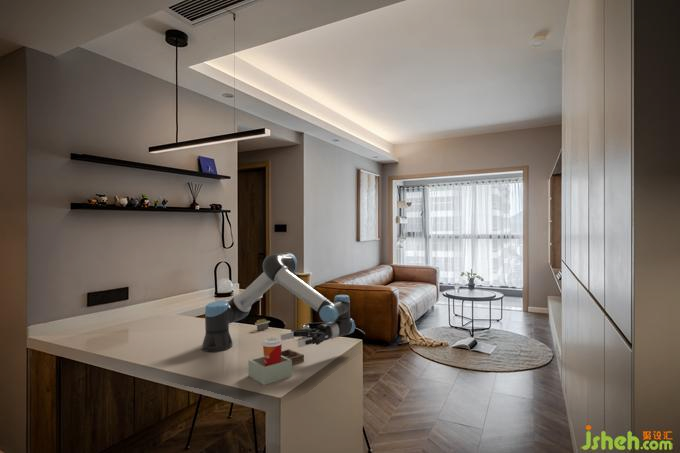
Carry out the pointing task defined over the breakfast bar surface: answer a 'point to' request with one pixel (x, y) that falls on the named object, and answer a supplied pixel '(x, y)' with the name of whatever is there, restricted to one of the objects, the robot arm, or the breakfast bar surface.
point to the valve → (305, 328)
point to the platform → (262, 324)
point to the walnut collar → (293, 356)
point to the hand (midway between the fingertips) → (289, 340)
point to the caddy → (269, 370)
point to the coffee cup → (272, 351)
